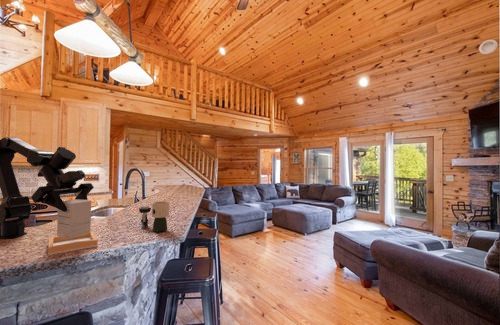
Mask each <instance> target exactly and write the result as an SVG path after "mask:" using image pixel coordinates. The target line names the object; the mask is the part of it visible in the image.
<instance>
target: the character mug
mask: <svg viewBox="0 0 500 325" xmlns="http://www.w3.org/2000/svg"><path fill="white" fill-rule="evenodd" d="M151 204H152V206H151V217H152V218H154V220H153V224H152V232H156V233H158V232H159V233H161V232H163V231H167V230H168V224H167V223H168V222H167V221H168V220H167V217H168V216H169V215H170V214H169V213H170V202H169V201H164V200H163V201H160V200H159V201H154V202H152V203H151Z"/></svg>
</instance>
